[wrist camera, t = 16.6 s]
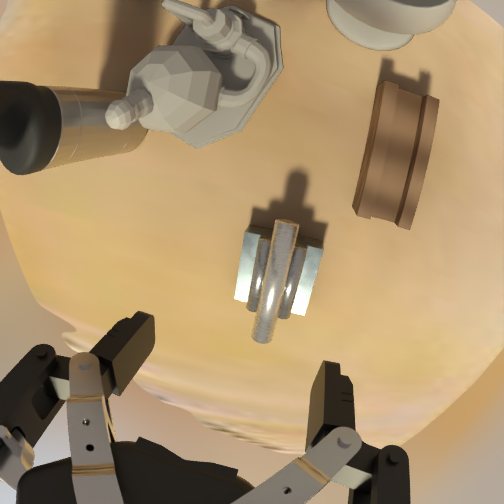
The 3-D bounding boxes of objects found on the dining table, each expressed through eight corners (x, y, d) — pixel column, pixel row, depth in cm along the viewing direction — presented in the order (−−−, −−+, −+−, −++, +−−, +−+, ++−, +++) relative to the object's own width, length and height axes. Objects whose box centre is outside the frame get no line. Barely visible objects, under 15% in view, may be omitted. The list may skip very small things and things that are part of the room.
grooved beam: (399, 219, 36) (409, 230, 32) (352, 206, 37) (357, 215, 33) (425, 103, 30) (439, 99, 25) (376, 86, 31) (385, 80, 26)
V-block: (305, 304, 43) (303, 323, 39) (239, 288, 45) (230, 306, 40) (322, 241, 39) (323, 255, 35) (249, 224, 41) (241, 236, 36)
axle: (273, 334, 41) (270, 345, 38) (253, 329, 41) (249, 340, 39) (300, 222, 35) (298, 228, 33) (277, 217, 36) (273, 222, 33)
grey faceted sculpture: (220, 164, 38) (166, 182, 24) (135, 110, 38) (60, 109, 24) (305, 42, 30) (299, -11, 16) (208, -4, 29) (159, -54, 15)
